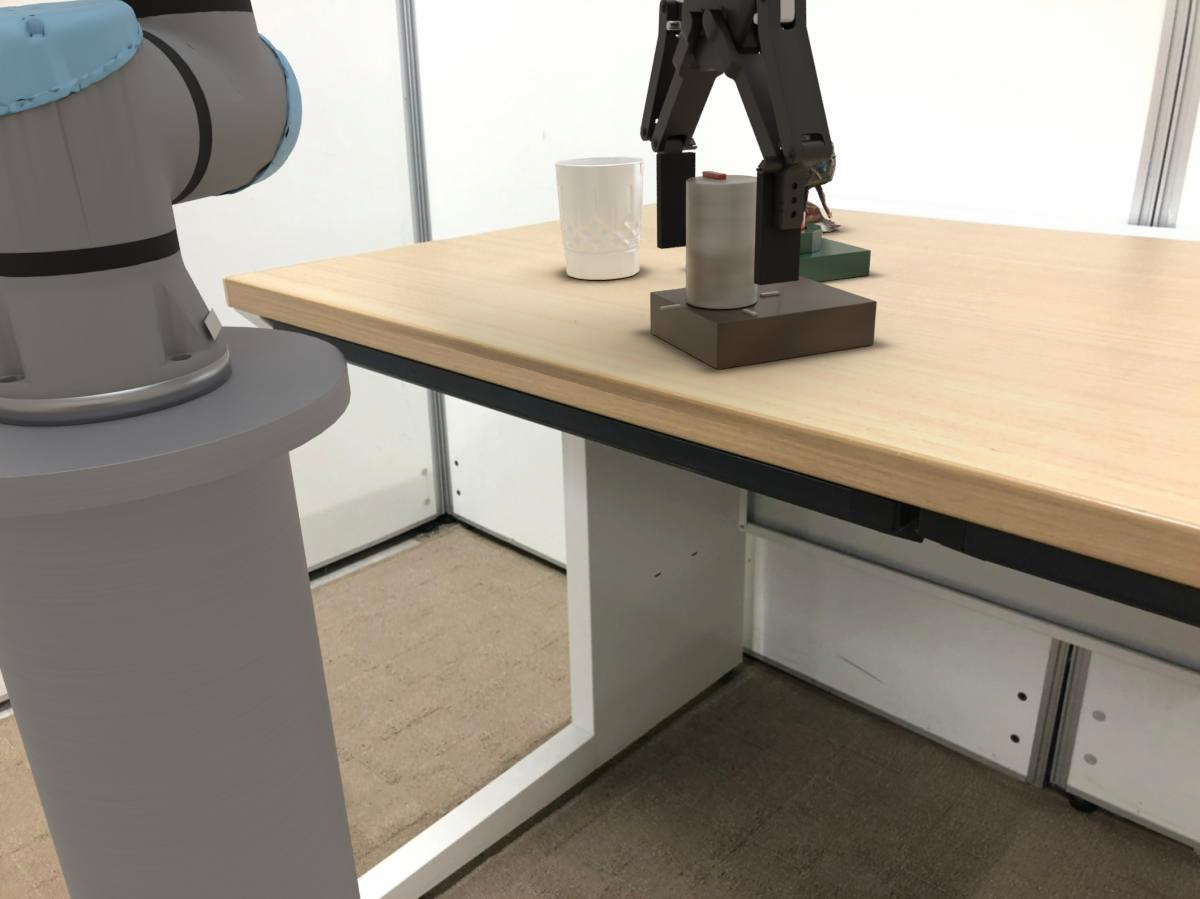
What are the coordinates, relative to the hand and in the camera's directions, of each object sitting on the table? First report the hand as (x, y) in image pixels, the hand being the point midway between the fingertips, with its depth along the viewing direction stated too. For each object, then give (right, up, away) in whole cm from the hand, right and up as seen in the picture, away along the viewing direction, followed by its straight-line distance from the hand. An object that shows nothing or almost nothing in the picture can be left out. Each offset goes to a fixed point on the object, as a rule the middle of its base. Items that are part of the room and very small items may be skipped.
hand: (721, 263), depth 66 cm
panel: (+3, -5, +3) cm, 6 cm away
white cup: (-8, +4, +25) cm, 27 cm away
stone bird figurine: (+14, +12, +43) cm, 47 cm away
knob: (0, -2, +1) cm, 3 cm away
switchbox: (+8, +4, +23) cm, 25 cm away
